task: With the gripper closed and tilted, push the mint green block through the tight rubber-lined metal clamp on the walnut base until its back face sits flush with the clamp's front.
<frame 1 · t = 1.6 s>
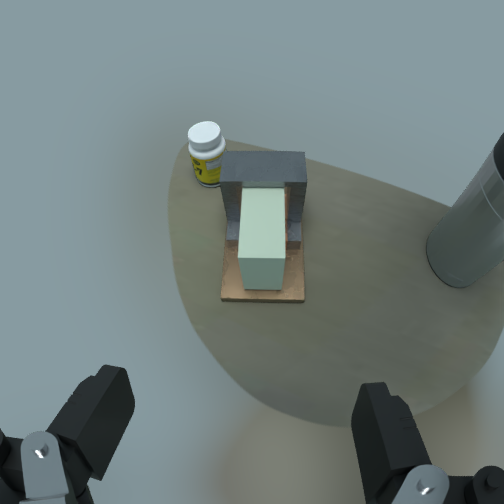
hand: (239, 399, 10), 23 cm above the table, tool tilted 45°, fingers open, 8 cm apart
supplement bottle: (213, 176, 43), on the table
mint green block: (263, 238, 32), point 5 cm above the table, slide at 5.0 cm
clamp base: (264, 238, 38), on the table
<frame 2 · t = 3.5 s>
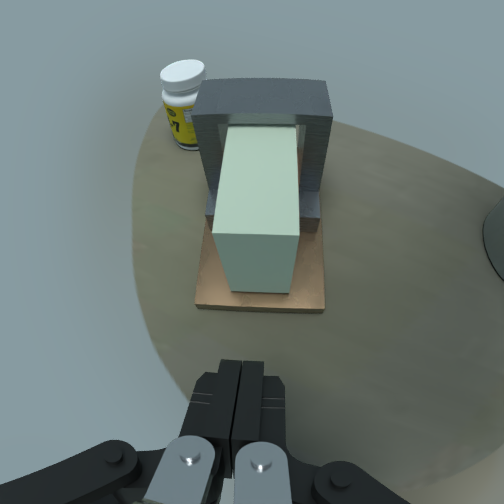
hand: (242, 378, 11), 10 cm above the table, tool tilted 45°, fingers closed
supplement bottle: (197, 137, 31), on the table
mint green block: (261, 210, 20), point 5 cm above the table, slide at 5.0 cm
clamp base: (264, 216, 26), on the table
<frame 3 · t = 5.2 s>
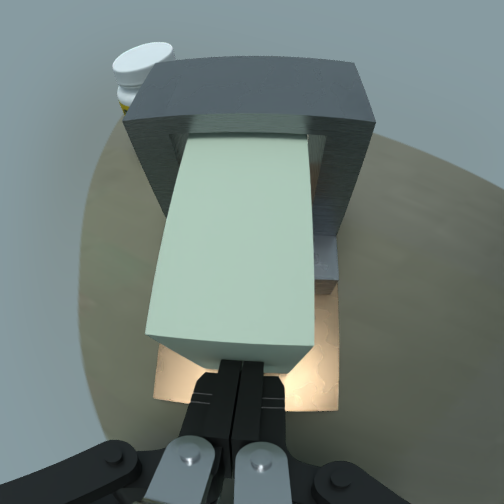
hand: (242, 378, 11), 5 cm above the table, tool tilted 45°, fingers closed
supplement bottle: (169, 146, 23), on the table
mint green block: (247, 259, 12), point 5 cm above the table, slide at 4.1 cm, touching gripper
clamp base: (254, 265, 18), on the table
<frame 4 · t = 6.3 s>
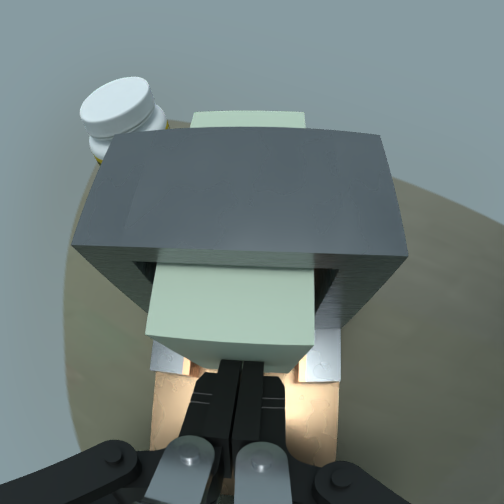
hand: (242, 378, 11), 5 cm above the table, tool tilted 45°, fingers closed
supplement bottle: (155, 192, 21), on the table
mint green block: (246, 258, 12), point 5 cm above the table, slide at -0.5 cm, touching gripper
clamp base: (249, 346, 16), on the table
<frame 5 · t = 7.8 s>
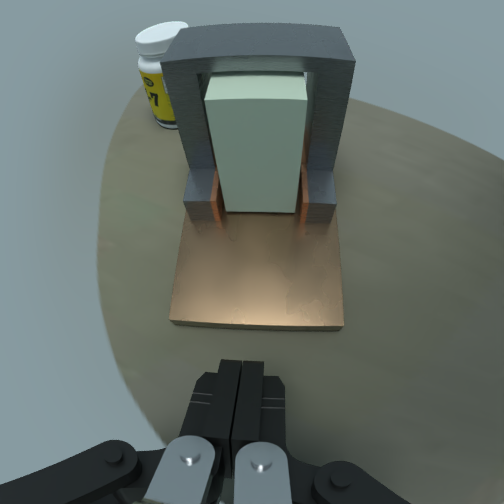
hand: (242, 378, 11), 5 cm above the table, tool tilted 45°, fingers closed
supplement bottle: (182, 114, 25), on the table
mint green block: (261, 114, 16), point 5 cm above the table, slide at -0.5 cm
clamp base: (261, 205, 20), on the table
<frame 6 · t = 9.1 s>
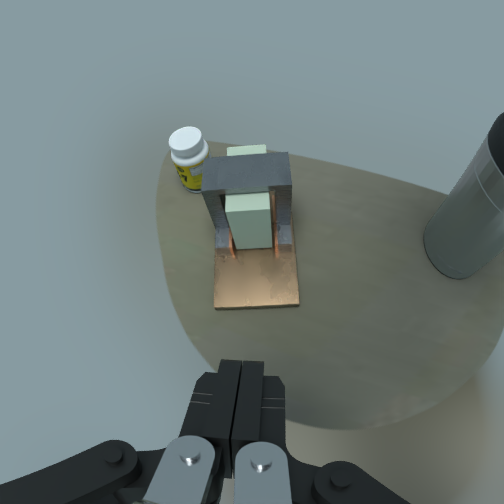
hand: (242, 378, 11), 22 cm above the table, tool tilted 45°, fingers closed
supplement bottle: (200, 180, 42), on the table
mint green block: (250, 198, 33), point 5 cm above the table, slide at -0.5 cm
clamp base: (255, 242, 37), on the table
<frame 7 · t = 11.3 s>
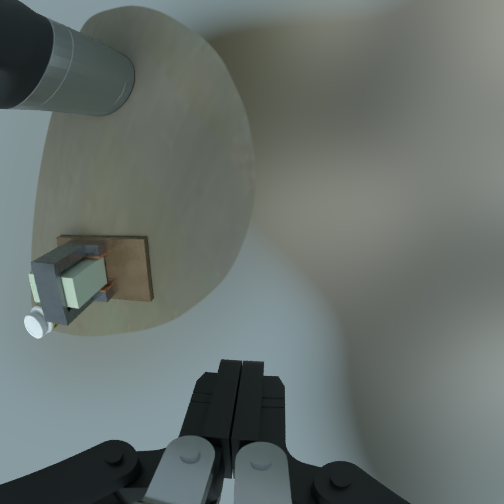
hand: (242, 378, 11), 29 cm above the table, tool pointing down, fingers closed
supplement bottle: (61, 302, 45), on the table
mint green block: (68, 278, 37), point 5 cm above the table, slide at -0.5 cm
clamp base: (101, 265, 42), on the table
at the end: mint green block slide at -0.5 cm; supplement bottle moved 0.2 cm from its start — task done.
